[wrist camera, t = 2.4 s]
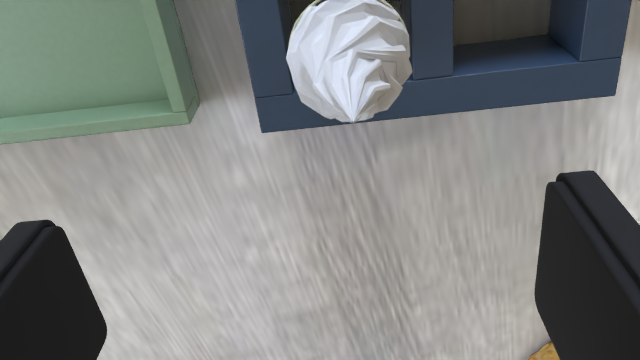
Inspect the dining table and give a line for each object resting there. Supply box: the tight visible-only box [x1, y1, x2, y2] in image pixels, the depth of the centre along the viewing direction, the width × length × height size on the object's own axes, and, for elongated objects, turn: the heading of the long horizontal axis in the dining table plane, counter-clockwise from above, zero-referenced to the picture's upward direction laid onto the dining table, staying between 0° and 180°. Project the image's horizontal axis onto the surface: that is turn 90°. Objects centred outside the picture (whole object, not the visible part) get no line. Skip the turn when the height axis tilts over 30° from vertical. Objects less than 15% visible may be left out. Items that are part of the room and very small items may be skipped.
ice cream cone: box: [286, 0, 413, 123], centre depth 23 cm, size 5×5×15 cm
